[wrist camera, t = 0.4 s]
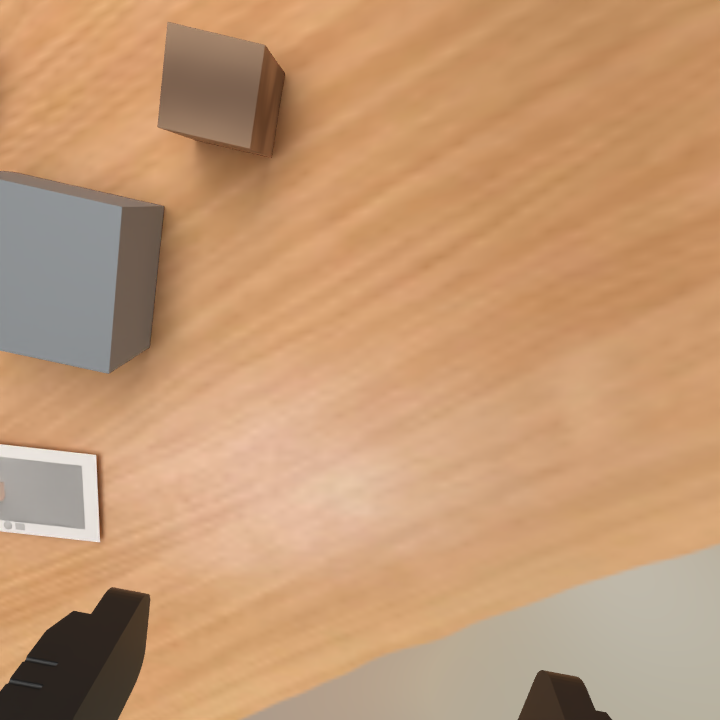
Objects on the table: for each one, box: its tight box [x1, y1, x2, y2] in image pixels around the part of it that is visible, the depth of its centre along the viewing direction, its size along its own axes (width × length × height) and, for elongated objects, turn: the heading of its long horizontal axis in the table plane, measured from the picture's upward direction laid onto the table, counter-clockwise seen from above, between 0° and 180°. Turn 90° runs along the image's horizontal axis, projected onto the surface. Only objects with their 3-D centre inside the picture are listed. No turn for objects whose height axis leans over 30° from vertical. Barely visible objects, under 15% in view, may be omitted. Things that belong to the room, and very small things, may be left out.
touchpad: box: [0, 444, 100, 542], centre depth 41 cm, size 8×15×2 cm, turn 84°
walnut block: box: [158, 22, 285, 158], centre depth 30 cm, size 5×5×6 cm
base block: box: [0, 171, 164, 374], centre depth 33 cm, size 10×10×6 cm
